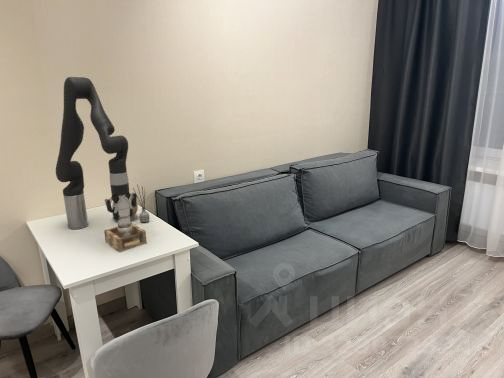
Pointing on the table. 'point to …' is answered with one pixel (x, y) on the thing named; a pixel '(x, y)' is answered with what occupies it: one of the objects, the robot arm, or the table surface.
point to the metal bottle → (124, 218)
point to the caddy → (125, 238)
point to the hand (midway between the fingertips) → (123, 218)
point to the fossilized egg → (132, 208)
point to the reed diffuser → (143, 210)
